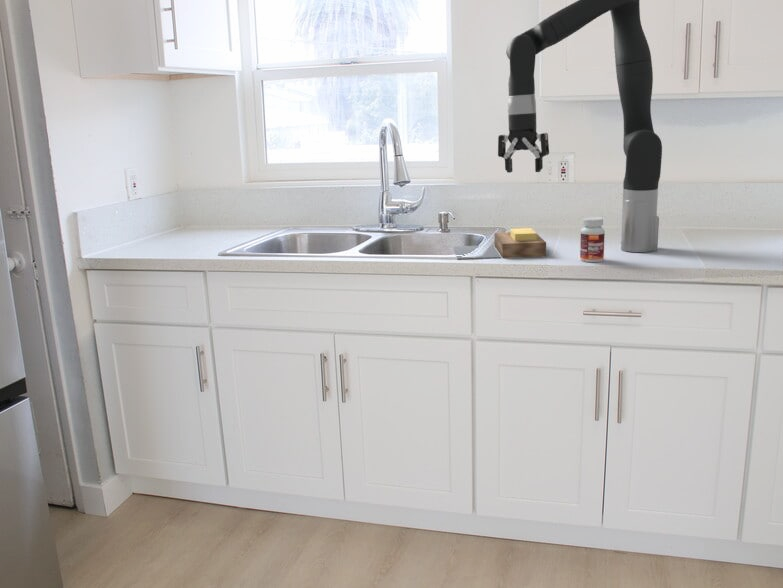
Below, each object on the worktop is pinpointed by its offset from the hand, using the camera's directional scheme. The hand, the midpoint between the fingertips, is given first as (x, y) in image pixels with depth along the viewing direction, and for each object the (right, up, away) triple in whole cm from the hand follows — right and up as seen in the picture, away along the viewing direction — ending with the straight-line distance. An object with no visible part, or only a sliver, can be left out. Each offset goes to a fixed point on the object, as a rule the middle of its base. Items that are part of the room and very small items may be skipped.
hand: (523, 172), depth 208 cm
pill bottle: (+17, -25, -7) cm, 31 cm away
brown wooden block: (0, -21, +9) cm, 23 cm away
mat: (-12, -22, +9) cm, 27 cm away
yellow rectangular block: (+1, -18, +7) cm, 19 cm away
